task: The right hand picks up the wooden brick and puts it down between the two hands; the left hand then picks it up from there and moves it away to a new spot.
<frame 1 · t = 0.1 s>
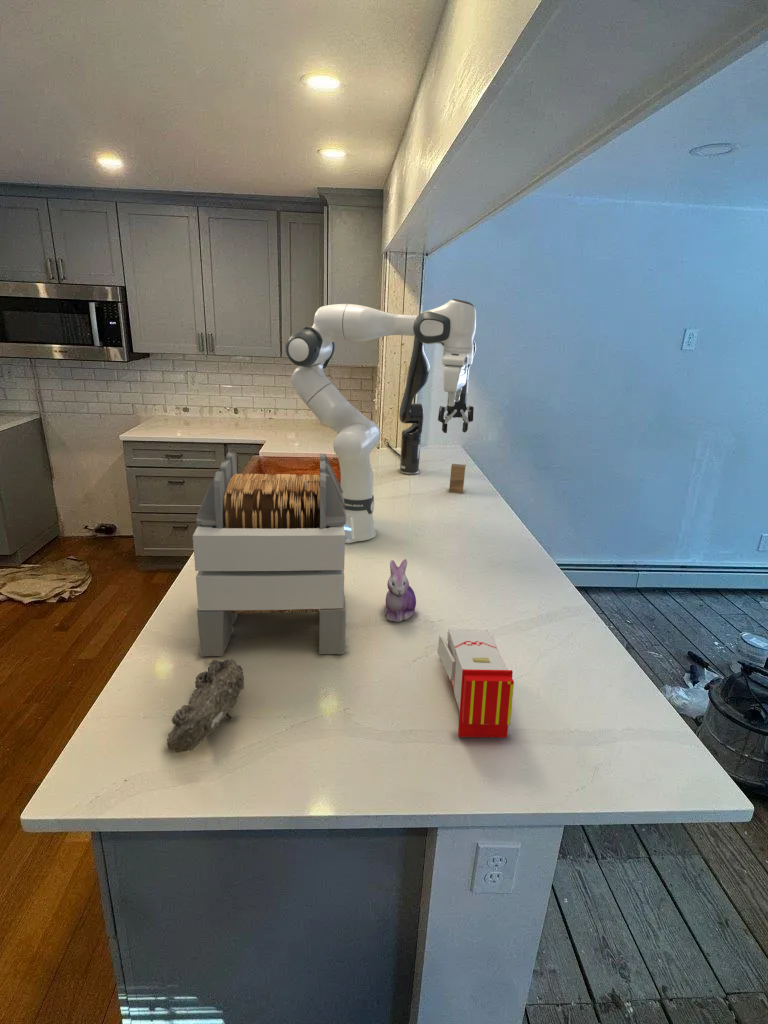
left hand: (453, 403, 174), 48 cm above the counter, tool pointing down, fingers open, 8 cm apart
right hand: (454, 432, 226), 29 cm above the counter, tool pointing down, fingers open, 8 cm apart
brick: (456, 491, 250), on the counter
figurine: (399, 614, 147), on the counter
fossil: (212, 717, 108), on the counter
record crate: (277, 618, 143), on the counter
toy: (469, 691, 119), on the counter
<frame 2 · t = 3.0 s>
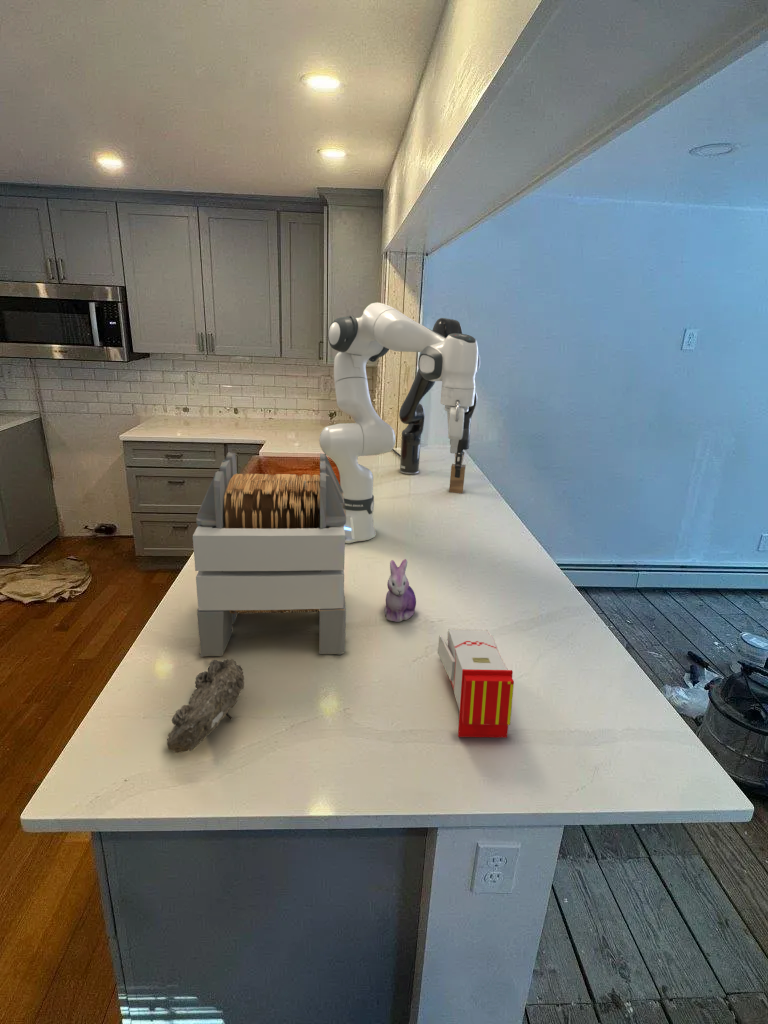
left hand: (453, 448, 155), 39 cm above the counter, tool pointing down, fingers open, 8 cm apart
right hand: (457, 475, 248), 7 cm above the counter, tool pointing down, fingers closed on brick, 4 cm apart
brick: (456, 491, 250), on the counter, touching right hand
everything else where it was.
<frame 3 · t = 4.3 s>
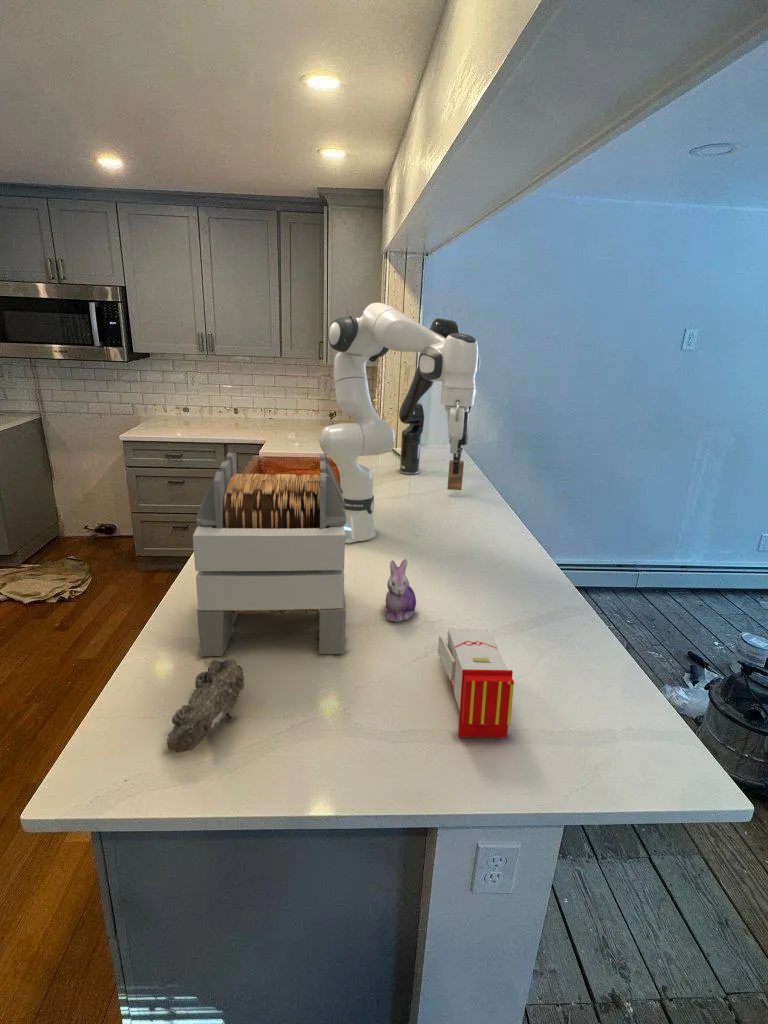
left hand: (453, 448, 155), 39 cm above the counter, tool pointing down, fingers open, 8 cm apart
right hand: (455, 472, 239), 11 cm above the counter, tool pointing down, fingers closed on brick, 4 cm apart
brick: (454, 488, 241), point 4 cm above the counter, touching right hand
everything else where it was.
when the right hand's fingers open (9 cm above the counter, at t = 5.6 s): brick drops 2 cm, on the counter.
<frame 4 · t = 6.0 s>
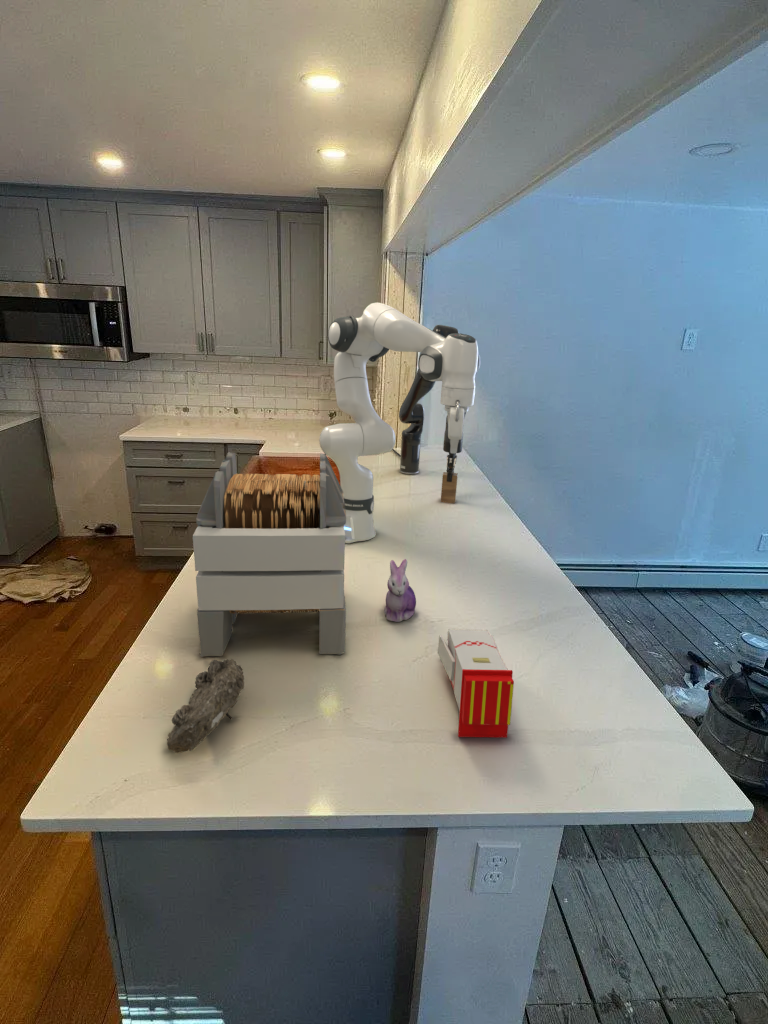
left hand: (453, 448, 155), 39 cm above the counter, tool pointing down, fingers open, 8 cm apart
right hand: (450, 478, 233), 10 cm above the counter, tool pointing down, fingers open, 7 cm apart
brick: (448, 501, 236), on the counter
everything else where it was.
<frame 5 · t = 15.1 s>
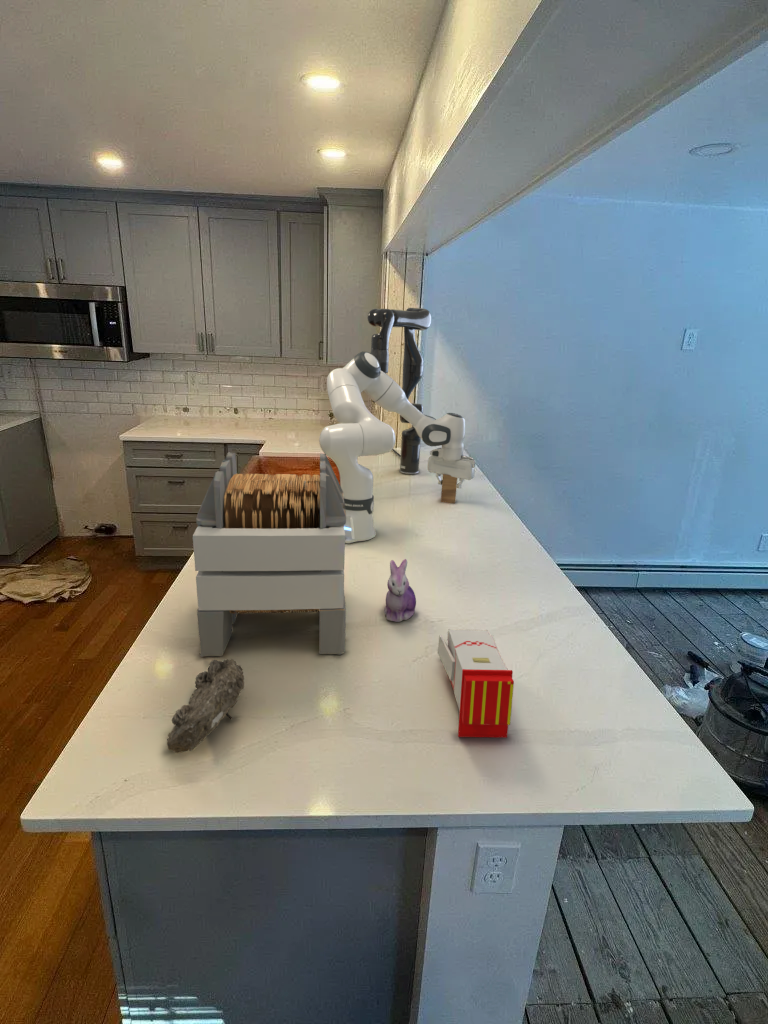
left hand: (449, 486, 234), 7 cm above the counter, tool pointing down, fingers closed on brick, 7 cm apart
right hand: (377, 400, 235), 38 cm above the counter, tool pointing down, fingers open, 8 cm apart
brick: (448, 501, 237), on the counter, touching left hand
everything else where it was.
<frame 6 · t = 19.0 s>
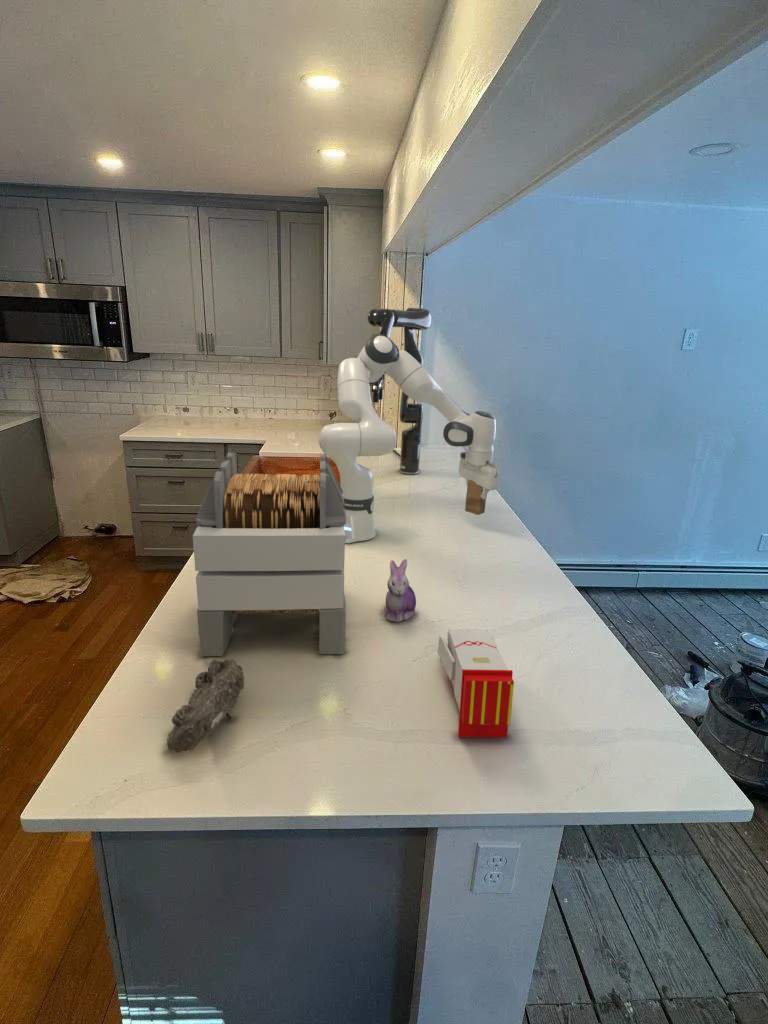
left hand: (476, 494, 206), 12 cm above the counter, tool pointing down, fingers closed on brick, 7 cm apart
right hand: (377, 400, 235), 38 cm above the counter, tool pointing down, fingers open, 8 cm apart
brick: (474, 511, 209), point 6 cm above the counter, touching left hand
everything else where it was.
when the left hand's fingers open (8 cm above the counter, at t = 23.2 s): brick drops 2 cm, on the counter.
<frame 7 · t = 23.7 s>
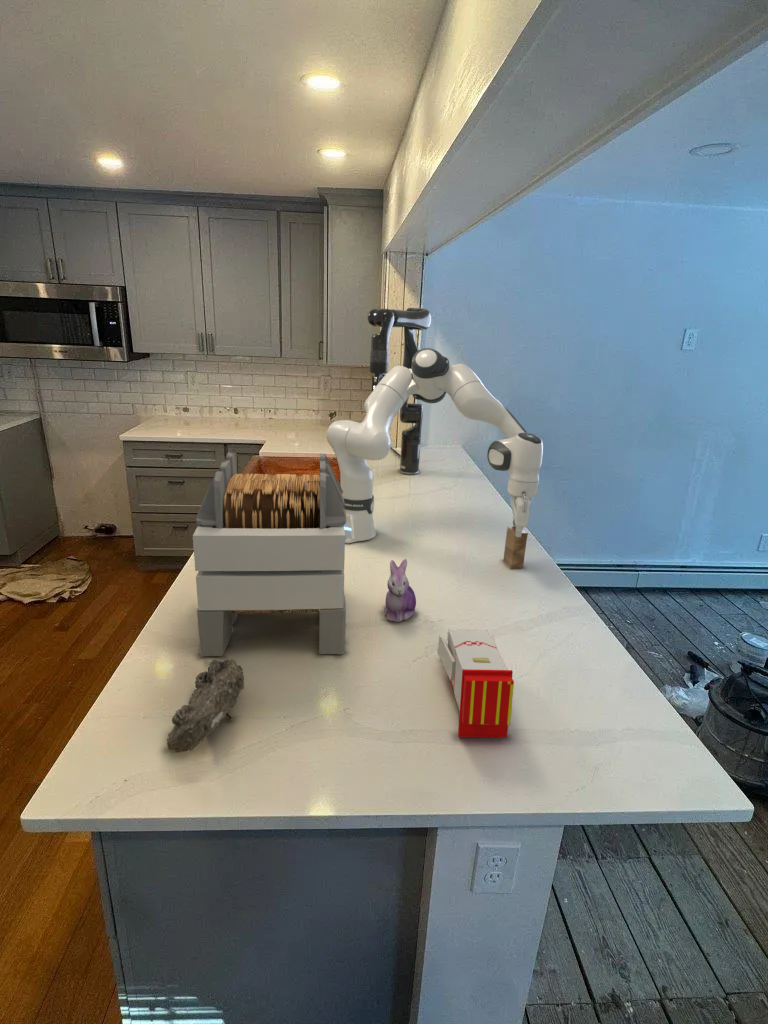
left hand: (516, 530, 175), 12 cm above the counter, tool pointing down, fingers open, 8 cm apart
right hand: (377, 400, 235), 38 cm above the counter, tool pointing down, fingers open, 8 cm apart
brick: (512, 564, 180), on the counter, touching left hand
everything else where it was.
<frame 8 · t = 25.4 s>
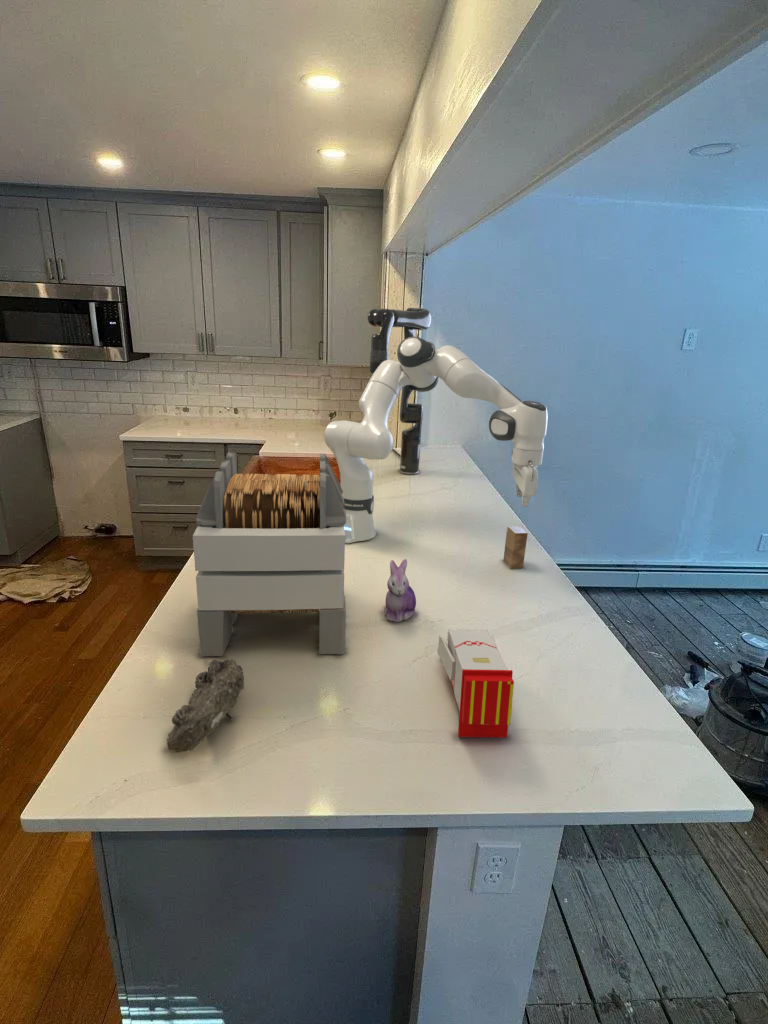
left hand: (521, 501, 173), 21 cm above the counter, tool pointing down, fingers open, 8 cm apart
right hand: (377, 400, 235), 38 cm above the counter, tool pointing down, fingers open, 8 cm apart
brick: (512, 564, 180), on the counter
everything else where it was.
at the end: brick inside the target area (0.0 cm from its centre), on the counter; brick tilted 0°; the two hands never held the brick at the same time; the left hand is holding nothing; the right hand is holding nothing; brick at rest at the end (0.0 cm/s) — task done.
